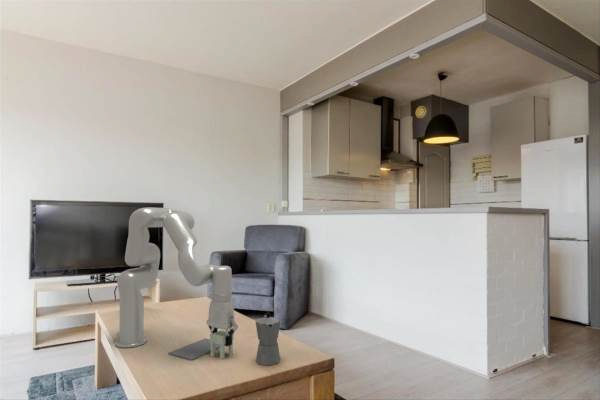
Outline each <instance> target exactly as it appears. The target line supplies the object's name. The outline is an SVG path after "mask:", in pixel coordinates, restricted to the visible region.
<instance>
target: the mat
mask: <svg viewBox="0 0 600 400" xmlns="http://www.w3.org/2000/svg"><path fill="white" fill-rule="evenodd" d="M216 350H219V344H216V343H215V351H216ZM167 353H168V354H167V355H170V356H173V357H176V358H180V359H184V360H188V361H191V362H192V361H194V360H196V359H199V358H201V357H203V356H205V355H207V354H211V342H210V338H207V337H206V338H205V337H204V338H203V339H199V340H197V341H194V342H192V343H189V344H186V345H185V346H182V347H179V348H177V349H174V350H171V351H169V352H167Z"/></svg>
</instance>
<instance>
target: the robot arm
mask: <svg viewBox="0 0 600 400" xmlns="http://www.w3.org/2000/svg"><path fill="white" fill-rule="evenodd" d="M194 227H195V219H194V217H193V216H192V214H190V213H189V212H186V211H181V210H177V209H172V208H167V207H152V206H151V207H148V206H147V207H142V208H141V207H140V208H138V209H135V210H134V211H133V212H132V213H131V215H130V217H129V219H128V237H127V240H126V247H125V252H124V253H125V254H124V262H125V263H126V265H127V266H129V267H134V268H129V269H125V270H124V271H122V272H121V273H120V274H119V275H118V276H117V281H116V283H117V284H116V285H117V290H118V293H119V295H118V296H119V329H118V331H119V332H116V333H115V335H116V337H118V339H117V340H115V342H114V343H115V347H118V348H124V349H125V348H135V347H139V346H142V345H144V344H146V343H147V342H148V337H147V336H145V334H144V331H145V330H144V327H145V325H144V324H145V323H144V319H145V318H144V314H145V311H144V310H145V302H144V301H145V300H144V296H143V294H142V292H141V290H142V289H147V288H150V287H152V286H154V284H156V281H157V279H158V273H159V266H160V261H161V260H160V259H161V250H160V248H159V246H158V245H156V243H152V242H150V232H149V229H148V228H164V230H165V232H166V233H167V235H168V236H169V238H170V239H171V241H172V242H173V244H174V246H175V248H176V249H177V252H178V253H177V262H178V263H177V264H178V267H179V271H180V272H181V274H182V275H183V277H184V278H185V280H186V281H187V282H188V284H189V285H191V286H193V287H200V286H204V285H207V284H211V291H212V292H211V295H210V297H211V300H210V303H209V307H208V308H209V309H208V318H207V320H206V324H207V326H208V328H209V330H210V334H212V333H215V332H217V331H219V330H218V329H220V330H224V331H226V335H227V336H226V344H225V347H228V346H230V345H232V335H233V334H235V332H236V330H237V329H238V328H239V325H238V323H236V321H235V309H234V303H233V300H232V299H233V296H232V294H233V293H232V289H233V288H232V285H233V283H232V281H233V280H232V279H233V278H232V277H233V274H232V272H233V271H232V268H231V266H229V265H216V264H212V263H211V264H210V263H209V264H202V265H198V263H197V262H196V260H195V258H194V255H193V250H194V247H195V246H196V245H197V243H198V239H197V238H196V236H195V234H194V233H193V231H192V229H193V228H194Z"/></svg>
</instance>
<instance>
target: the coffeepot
mask: <svg viewBox="0 0 600 400" xmlns="http://www.w3.org/2000/svg"><path fill="white" fill-rule="evenodd" d="M280 326H281V319H279V318H278V317H273V316H272V317H271V312H265V313H264V314H263V317H261V318H257V319H256V321H255V327H256V335H257V339H258V341H259V342H258V344H257V345H258V346H257V351H256V359H255V362H256V364H258V365H260V366H265V367H267V366H268V367H269V366H274V365H277V364H279V363H280V361H281V354H280V348H279V344H278V337H279V333H280V332H279V331H280Z"/></svg>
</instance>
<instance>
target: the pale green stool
mask: <svg viewBox="0 0 600 400" xmlns="http://www.w3.org/2000/svg"><path fill="white" fill-rule="evenodd" d="M234 334H235V333H234ZM234 334H233V335H232V345H230V346H227V347H228V350H227V351H228V356H229V355H230V356H232V355H233V354H234V338H235V337H234V336H235V335H234ZM226 336H227V335H226V331H225V329H220V330H217V332H215V333H210V334H209V339H210V342H211V352H210V357H215V356H216V350H215V343H216V344H219V349H218V350H219V359H221V360H223V359H225V356H226V355H225V353H226V352H225V350H226V349H225V347H226V346H225V344H226Z"/></svg>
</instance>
